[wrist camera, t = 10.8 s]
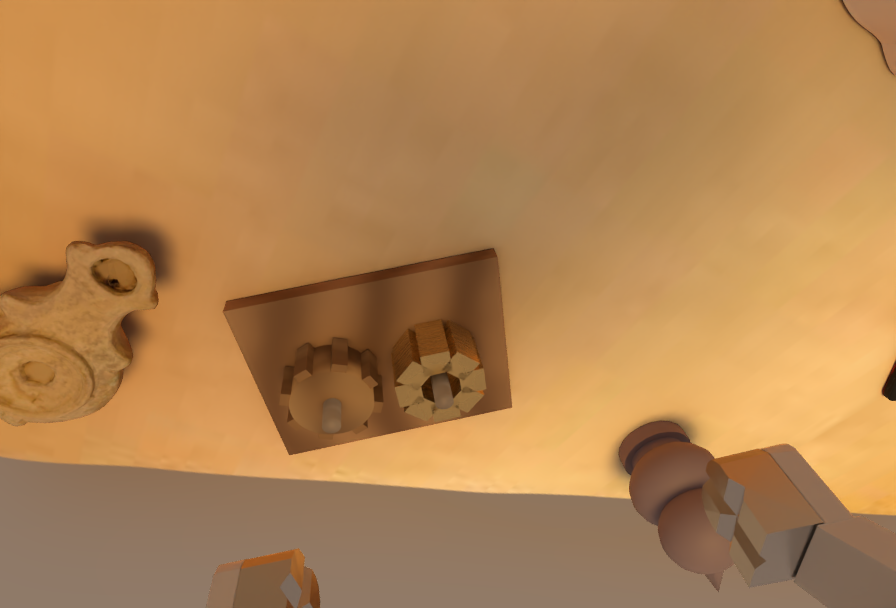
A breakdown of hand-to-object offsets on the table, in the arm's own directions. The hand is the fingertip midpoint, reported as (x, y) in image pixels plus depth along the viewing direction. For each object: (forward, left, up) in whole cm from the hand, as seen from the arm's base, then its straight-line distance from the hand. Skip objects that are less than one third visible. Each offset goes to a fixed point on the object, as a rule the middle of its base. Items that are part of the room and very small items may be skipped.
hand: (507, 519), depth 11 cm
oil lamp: (+22, +7, -26) cm, 34 cm away
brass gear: (+1, +15, -24) cm, 28 cm away
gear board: (+4, +15, -25) cm, 30 cm away
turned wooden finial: (-18, +32, -25) cm, 45 cm away
